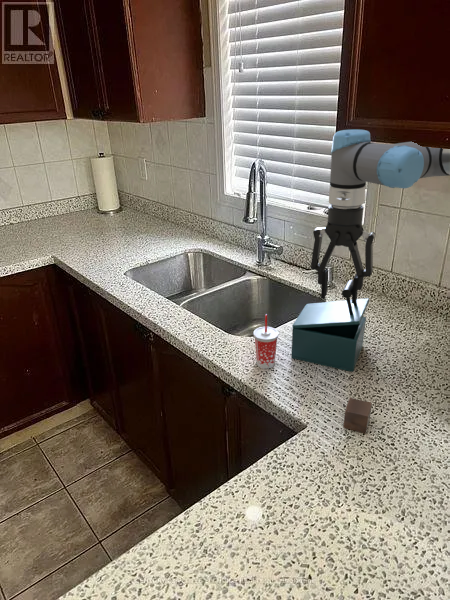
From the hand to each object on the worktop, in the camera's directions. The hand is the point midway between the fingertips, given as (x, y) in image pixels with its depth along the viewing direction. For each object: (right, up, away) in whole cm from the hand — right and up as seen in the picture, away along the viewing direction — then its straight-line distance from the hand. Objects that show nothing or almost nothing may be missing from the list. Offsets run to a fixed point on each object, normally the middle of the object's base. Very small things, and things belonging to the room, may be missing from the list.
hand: (338, 298), depth 108 cm
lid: (-1, -4, +3) cm, 5 cm away
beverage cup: (-17, -17, +4) cm, 24 cm away
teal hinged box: (-1, -14, +8) cm, 16 cm away
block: (0, -26, -16) cm, 31 cm away
